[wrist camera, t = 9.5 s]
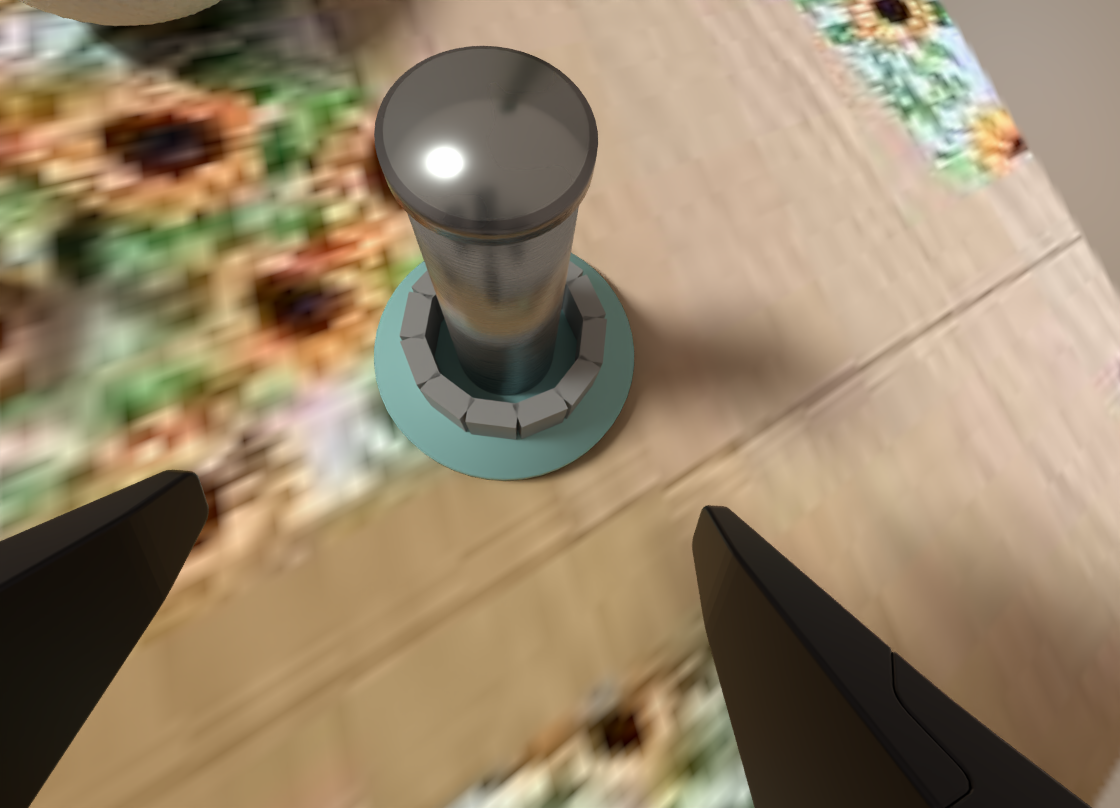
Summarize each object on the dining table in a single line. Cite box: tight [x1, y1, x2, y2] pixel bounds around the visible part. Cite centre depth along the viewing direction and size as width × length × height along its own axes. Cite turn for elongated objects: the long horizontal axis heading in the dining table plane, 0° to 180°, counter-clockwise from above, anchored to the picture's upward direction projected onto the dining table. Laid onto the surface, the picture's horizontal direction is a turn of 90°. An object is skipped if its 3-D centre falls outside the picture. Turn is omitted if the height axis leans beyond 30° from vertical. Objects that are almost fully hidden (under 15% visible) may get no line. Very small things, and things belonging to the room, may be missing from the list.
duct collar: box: [374, 253, 634, 481], centre depth 23 cm, size 12×12×3 cm
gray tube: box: [374, 46, 598, 395], centre depth 17 cm, size 5×5×13 cm
